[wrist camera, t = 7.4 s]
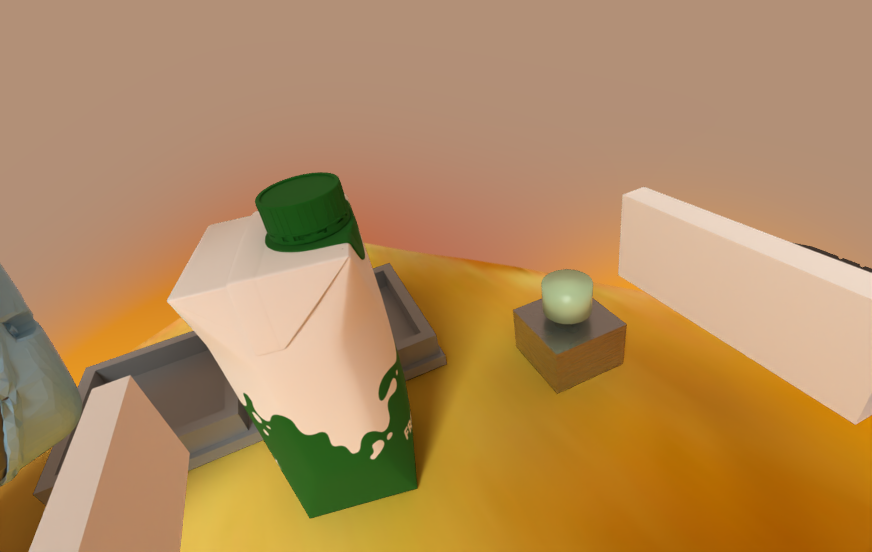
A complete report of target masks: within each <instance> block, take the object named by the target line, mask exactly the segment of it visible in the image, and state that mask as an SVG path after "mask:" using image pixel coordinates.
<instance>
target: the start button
mask: <svg viewBox="0 0 872 552" xmlns="http://www.w3.org/2000/svg"><path fill="white" fill-rule="evenodd" d="M592 296H593V281H592V279H591V278H590V277H589V276H588V275H587V274H585V273H583V272H580V271H576V270H569V269H565V270H558V271H554V272H551V273H549V274H548V275H546V276H545V277H544V278H543V280H542V306H543V313H544V315H545V316H546V317H547V318H548V319H550V320H551V321H554V322H556V323H560V324H576V323H580V322H582V321H584V320H586V319H587V318H588V317H589V316H590V315H591V313H592Z"/></svg>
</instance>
